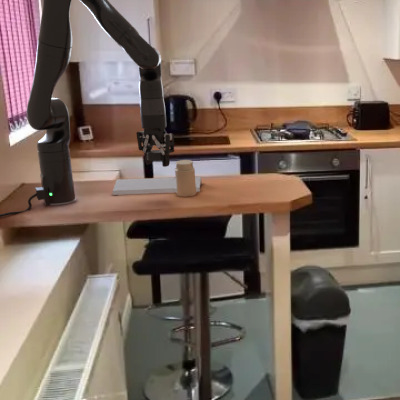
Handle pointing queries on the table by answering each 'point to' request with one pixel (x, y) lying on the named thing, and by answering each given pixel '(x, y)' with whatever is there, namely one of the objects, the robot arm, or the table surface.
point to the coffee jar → (185, 178)
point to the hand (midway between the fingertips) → (157, 165)
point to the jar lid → (154, 155)
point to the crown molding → (149, 186)
